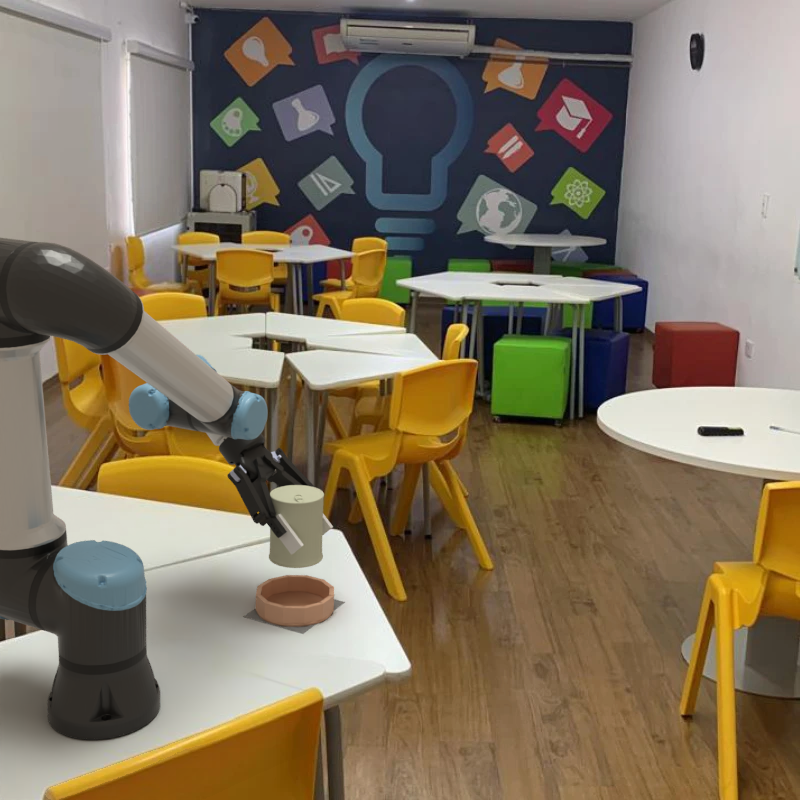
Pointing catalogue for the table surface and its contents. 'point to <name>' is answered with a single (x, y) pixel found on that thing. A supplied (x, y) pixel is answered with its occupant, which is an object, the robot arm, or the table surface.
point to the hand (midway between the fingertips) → (312, 540)
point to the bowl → (295, 600)
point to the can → (298, 525)
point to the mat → (302, 630)
